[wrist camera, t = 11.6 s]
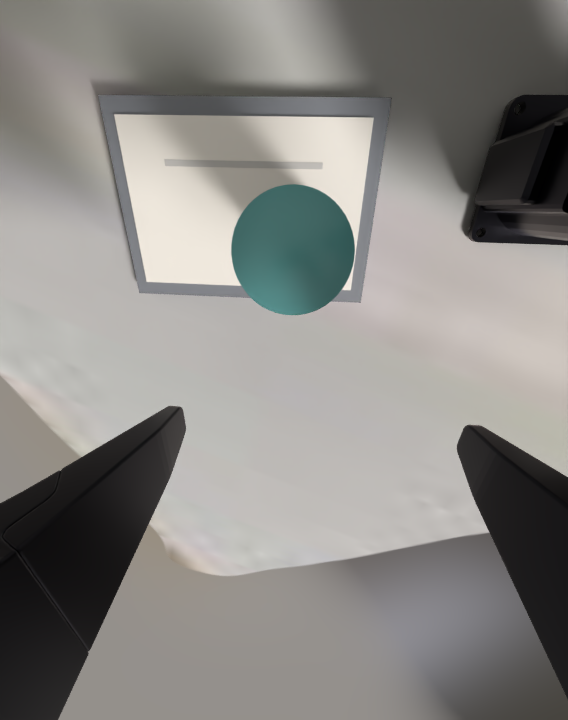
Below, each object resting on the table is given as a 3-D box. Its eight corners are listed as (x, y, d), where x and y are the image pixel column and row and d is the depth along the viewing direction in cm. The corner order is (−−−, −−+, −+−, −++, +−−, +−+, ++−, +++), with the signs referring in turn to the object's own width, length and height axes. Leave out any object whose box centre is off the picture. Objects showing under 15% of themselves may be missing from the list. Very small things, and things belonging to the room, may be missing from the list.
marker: (336, 196, 16) (363, 185, 7) (329, 265, 17) (346, 317, 9) (270, 195, 16) (226, 182, 8) (270, 263, 17) (234, 312, 9)
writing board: (386, 104, 15) (392, 95, 14) (358, 298, 19) (361, 303, 18) (109, 101, 15) (94, 93, 14) (146, 289, 20) (137, 293, 19)
